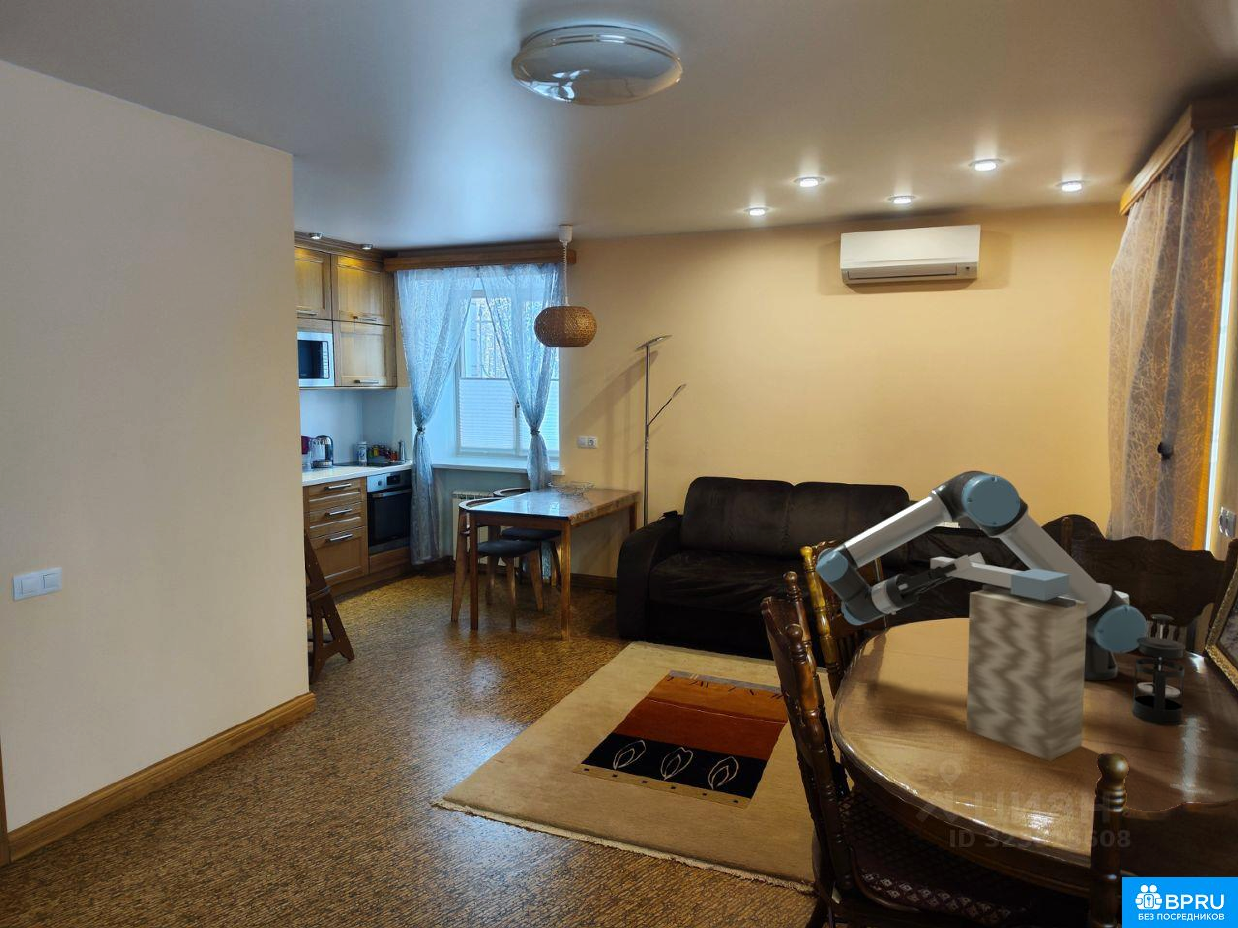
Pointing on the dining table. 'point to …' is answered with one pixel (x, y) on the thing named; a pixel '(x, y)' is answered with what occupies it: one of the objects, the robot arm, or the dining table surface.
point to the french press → (1159, 680)
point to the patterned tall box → (1026, 670)
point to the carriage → (1015, 579)
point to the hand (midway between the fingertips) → (975, 559)
